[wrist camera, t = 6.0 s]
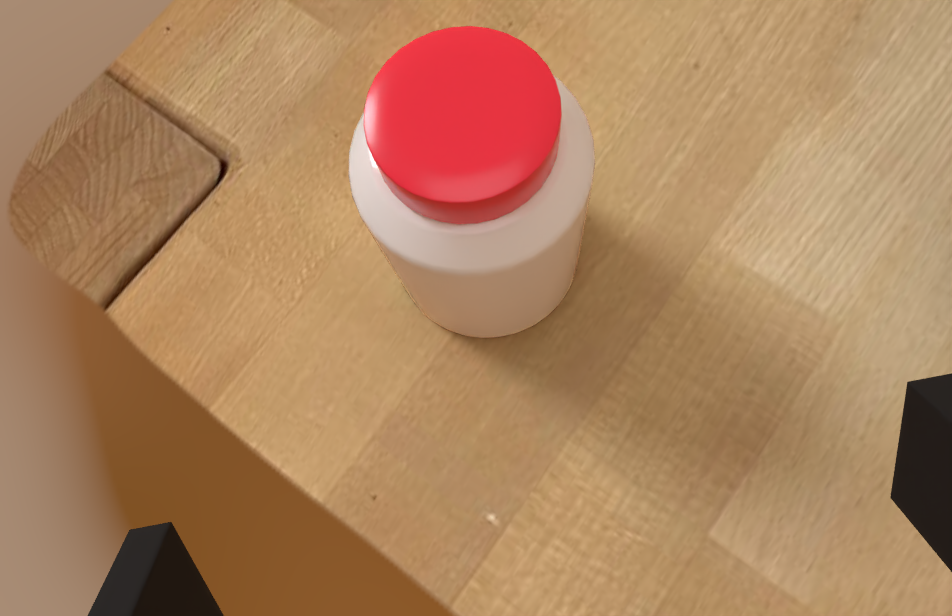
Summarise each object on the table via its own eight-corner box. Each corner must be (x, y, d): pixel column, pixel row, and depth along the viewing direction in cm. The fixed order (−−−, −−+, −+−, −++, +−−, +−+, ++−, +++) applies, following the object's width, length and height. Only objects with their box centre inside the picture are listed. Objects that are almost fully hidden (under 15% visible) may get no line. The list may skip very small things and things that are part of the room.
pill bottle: (362, 243, 30) (268, 105, 19) (497, 134, 31) (477, -55, 20) (477, 376, 28) (442, 302, 17) (617, 256, 29) (664, 116, 18)
